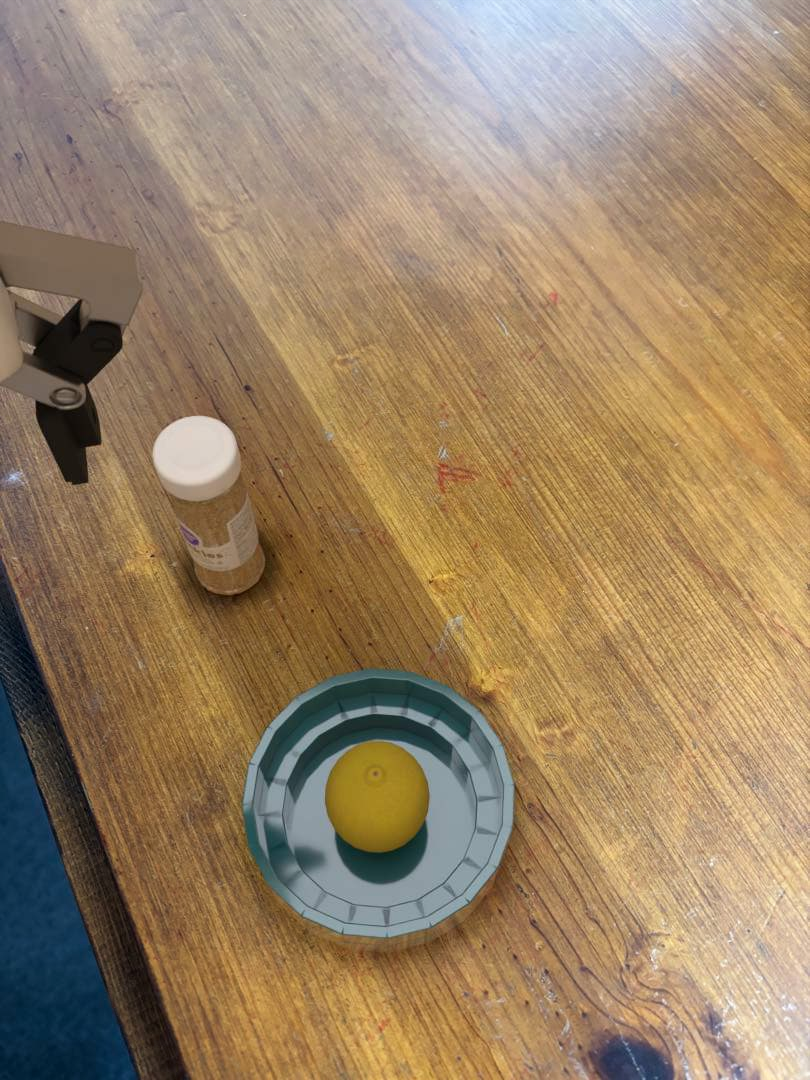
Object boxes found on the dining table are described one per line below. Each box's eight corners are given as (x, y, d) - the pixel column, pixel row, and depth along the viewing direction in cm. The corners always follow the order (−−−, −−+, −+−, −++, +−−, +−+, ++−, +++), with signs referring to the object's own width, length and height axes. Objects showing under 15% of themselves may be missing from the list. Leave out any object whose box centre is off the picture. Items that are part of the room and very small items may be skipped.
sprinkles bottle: (182, 580, 68) (133, 462, 56) (220, 525, 70) (180, 400, 58) (243, 609, 67) (207, 495, 55) (280, 552, 69) (252, 431, 57)
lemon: (393, 887, 58) (390, 851, 51) (310, 831, 59) (296, 789, 52) (447, 802, 60) (451, 757, 53) (366, 750, 61) (360, 700, 54)
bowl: (278, 982, 56) (267, 968, 52) (237, 730, 63) (224, 699, 58) (537, 917, 57) (547, 899, 53) (470, 678, 64) (474, 644, 60)
